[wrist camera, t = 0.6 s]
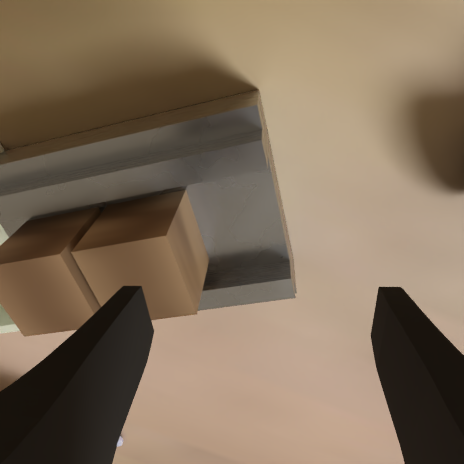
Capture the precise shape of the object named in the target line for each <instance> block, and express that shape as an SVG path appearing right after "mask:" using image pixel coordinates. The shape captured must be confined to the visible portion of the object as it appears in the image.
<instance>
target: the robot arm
mask: <svg viewBox="0 0 464 464" xmlns="http://www.w3.org/2000/svg"><path fill="white" fill-rule="evenodd" d="M153 334H154V330H153V326H152V322H151V318H150V315H149V311H148V307H147V304H146V300H145V296H144V293H143V289H142V286H123V287H121V288H120V289H119V290H118V291H117V292H116V293H115V294H114V295H113V296H112V297H111V298H110V299H109V300H108V301H107V302H106V303H105V304H104V305H103V306H102V307H101V308H100V309H99V310H98V311H97V312H96V313H95V314H94V315H93V316H92V317H90V318H89V319H88V320H87V321H86V322H85V323H84V324H83V325H82V326H81V327H80V328H79V329H78V330H77V331H76V332H75V333H74V334H72V335H71V336H70V337H69V338H68V339H67V340H66V341H64V342H63V343H62V344H61V345H60V346H59V347H58V348H56V349H55V350H54V351H53V352H52V353H51V354H50V355H48V356H47V357H46V358H45V359H44V360H42V361H41V362H40V363H39V364H37V365H36V366H35V367H34V368H32V369H31V370H30V371H28V372H27V373H26V374H24V375H23V376H22V377H20V378H19V379H18V380H16V381H15V382H14V383H12V384H11V385H10V386H8V387H7V388H5V389H4V390H2V391H1V392H0V464H112V462H113V458H114V454H115V451H116V447H117V446H121V445H122V443H123V439H122V437H121V436H120V434H121V431H122V428H123V426H124V423H125V420H126V418H127V415H128V412H129V409H130V407H131V404H132V401H133V399H134V396H135V393H136V391H137V388H138V385H139V383H140V380H141V377H142V374H143V372H144V369H145V366H146V363H147V360H148V356H149V352H150V348H151V343H152V338H153ZM371 340H372V346H373V352H374V357H375V363H376V368H377V371H378V375H379V378H380V382H381V385H382V388H383V391H384V395H385V398H386V401H387V404H388V408H389V411H390V414H391V417H392V421H393V424H394V427H395V430H396V434H397V437H398V440H399V443H400V447H401V451H402V454H403V458H404V462H405V464H464V355H463V354H462V353H461V352H460V351H459V350H458V349H457V348H456V347H455V346H454V345H453V344H452V343H451V342H450V341H449V340H448V339H447V338H446V337H445V336H444V335H443V334H442V333H441V332H440V330H439V329H438V328H437V327H436V326H435V325H434V324H433V323H432V322H431V321H430V319H429V318H428V317H427V316H426V315H425V314H424V313H423V312H422V310H421V309H420V308H419V307H418V306H417V305H416V304H415V302H414V301H413V300H412V299H411V298H410V297H409V295H408V294H407V293H406V292H405V291H404V290H403V289H402V288H401V287H379V289H378V295H377V301H376V307H375V313H374V319H373V325H372V331H371Z"/></svg>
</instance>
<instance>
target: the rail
mask: <svg viewBox="0 0 464 464" xmlns="http://www.w3.org/2000/svg"><path fill="white" fill-rule="evenodd" d="M182 190H186V191H187V194H188V197H189V200H190V203H191V206H192V209H193V212H194V215H195V218H196V221H197V224H198V227H199V230H200V233H201V236H202V239H203V242H204V245H205V248H206V251H207V254H208V257H209V263H208V267H207V272H206V276H205V281H204V285H203V289H202V294H201V298H200V303H199V307H198V311H199V310H206V309H214V308H222V307H229V306H237V305H244V304H252V303H260V302H267V301H275V300H283V299H290V298H295V293H297V292H296V281H295V270H294V260H293V255H292V250H291V245H290V240H289V235H288V230H287V225H286V220H285V215H284V211H283V206H282V201H281V196H280V191H279V186H278V181H277V176H276V171H275V166H274V161H273V156H272V151H271V146H270V141H269V137H268V132H267V127H266V122H265V117H264V112H263V107H262V102H261V97H260V92H259V89H258V90H254V91H250V92H246V93H242V94H238V95H233V96H229V97H225V98H221V99H217V100H213V101H209V102H205V103H200V104H196V105H192V106H188V107H184V108H180V109H176V110H171V111H167V112H163V113H159V114H155V115H151V116H147V117H143V118H138V119H134V120H130V121H126V122H122V123H118V124H114V125H109V126H105V127H101V128H97V129H93V130H89V131H85V132H81V133H76V134H72V135H68V136H64V137H60V138H56V139H52V140H47V141H43V142H39V143H35V144H31V145H27V146H23V147H19V148H14V149H10V150H6V151H4V152H2V153H0V224H1V226H2V227H3V229H4V230H5V232H6V234H7V235H8V237H10V236H11V235H12V234H13V233H15V232H16V231H17V230H18V229H19V228H20V227H21V226H22V225H23V224H24V223H25V222H26V221H30V220H35V219H40V218H45V217H50V216H55V215H60V214H65V213H70V212H75V211H80V210H85V209H90V208H95V207H98V208H99V210H100V212H101V213H102V212H103V210H104V209H105V208H106V206H107V205H111V204H116V203H121V202H126V201H131V200H136V199H141V198H146V197H151V196H156V195H161V194H166V193H171V192H177V191H182Z"/></svg>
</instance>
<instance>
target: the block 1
mask: <svg viewBox="0 0 464 464" xmlns="http://www.w3.org/2000/svg"><path fill="white" fill-rule="evenodd" d="M100 214H101V212H100V210H99V208H98V207H95V208H90V209H85V210H80V211H75V212H70V213H65V214H60V215H55V216H50V217H45V218H40V219H35V220H30V221H26V222H25V223H24V224H23V225H22V226H21V227H20V228H19V229H18V230H17V231H16V232H15V233H13V234H12V235H11V236H10V237H9V238H8V239H7V240H6V241H5V242H4V243H3V244H2V245H1V246H0V304H1V305H2V307H3V308H4V309H5V311H6V312H7V313H8V315H9V316H10V318H11V319H12V320H13V322H14V323H15V324H16V326H17V327H18V329H19V330H20V331H21V333H22V334H23V336H32V335H40V334H47V333H55V332H63V331H71V330H78V329H79V328H80V327H81V326H82V325H83V324H84V323H85V322H86V321H87V320H88V319H89V318H90V317H92V316H93V315H94V314H95V313H96V312H97V311H98V310H99V309H100V308H101V305H100V304H99V302H98V300H97V298H96V296H95V295H94V293H93V291H92V289H91V287H90V286H89V284H88V282H87V280H86V278H85V277H84V275H83V273H82V271H81V269H80V268H79V266H78V264H77V262H76V260H75V258H74V257H73V255H72V253H71V252H72V250H73V249H74V248H75V246H76V245H77V244H78V243H79V241H80V240H81V239H82V237H83V236H84V235H85V234H86V232H87V231H88V230H89V228H90V227H91V226H92V225H93V223H94V222H95V221H96V219H97V218H98V217H99V215H100Z"/></svg>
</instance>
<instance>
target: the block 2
mask: <svg viewBox="0 0 464 464" xmlns="http://www.w3.org/2000/svg"><path fill="white" fill-rule="evenodd" d="M71 253H72V255H73V257H74V258H75V260H76V262H77V264H78V266H79V268H80V269H81V271H82V273H83V275H84V277H85V278H86V280H87V282H88V284H89V286H90V287H91V289H92V291H93V293H94V295H95V296H96V298H97V300H98V302H99V304H100V305H101V307H102V306H103V305H104V304H105V303H106V302H107V301H108V300H109V299H110V298H111V297H112V296H113V295H114V294H115V293H116V292H117V291H118V290H119V289H120V288H121V287H123V286H142V289H143V293H144V296H145V300H146V304H147V307H148V311H149V315H150V318H151V320H156V319H163V318H171V317H179V316H187V315H194V314H197V311H198V307H199V303H200V298H201V294H202V289H203V285H204V281H205V276H206V272H207V267H208V263H209V257H208V254H207V251H206V248H205V245H204V242H203V239H202V236H201V233H200V230H199V227H198V224H197V221H196V218H195V215H194V212H193V209H192V206H191V203H190V200H189V197H188V194H187V191H186V190H182V191H177V192H171V193H166V194H161V195H156V196H151V197H146V198H141V199H136V200H131V201H126V202H121V203H116V204H111V205H107V206H106V208H105V209H104V210H103V212H102V213H101V214H100V215H99V217H98V218H97V219H96V221H95V222H94V223H93V225H92V226H91V227H90V228H89V230H88V231H87V232H86V234H85V235H84V236H83V237H82V239H81V240H80V241H79V243H78V244H77V245H76V246H75V248H74V249H73V250H72V252H71Z"/></svg>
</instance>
